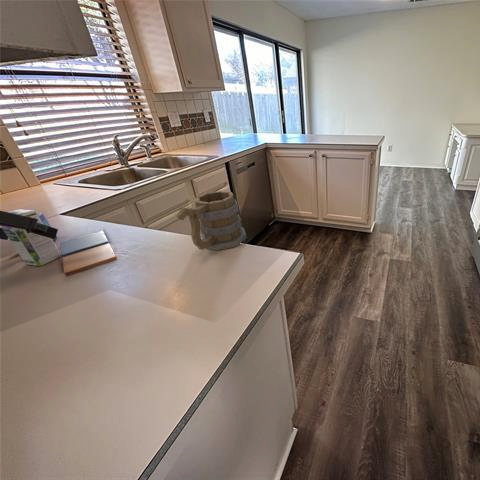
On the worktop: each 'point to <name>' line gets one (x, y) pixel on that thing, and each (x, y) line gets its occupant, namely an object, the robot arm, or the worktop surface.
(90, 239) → the slate mat
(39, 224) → the robot arm
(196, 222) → the tankard
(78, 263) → the amber mat
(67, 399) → the worktop surface
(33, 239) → the syrup box
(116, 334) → the worktop surface
